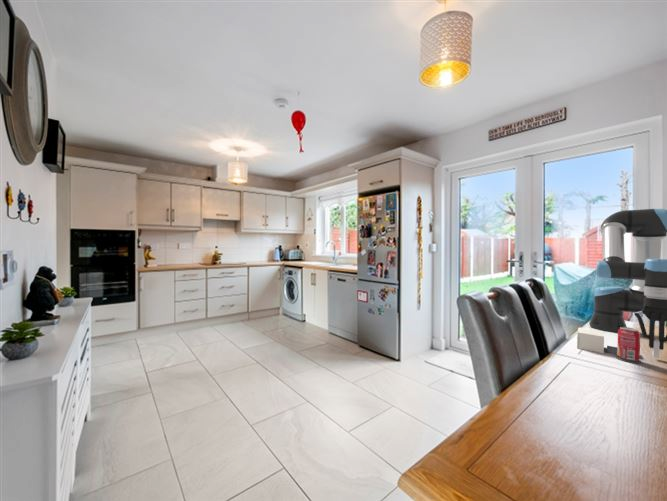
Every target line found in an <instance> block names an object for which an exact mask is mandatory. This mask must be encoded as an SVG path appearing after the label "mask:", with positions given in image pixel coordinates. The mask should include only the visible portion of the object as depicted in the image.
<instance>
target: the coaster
mask: <svg viewBox="0 0 667 501" xmlns="http://www.w3.org/2000/svg"><path fill="white" fill-rule="evenodd" d="M615 358H616V359H617V360H620V361H621V362H626V363H629V364H642V360H636V361H630V360H625V359H622V358H620V357H619V356H618V355H615Z"/></svg>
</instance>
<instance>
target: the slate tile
mask: <svg viewBox="0 0 667 501" xmlns="http://www.w3.org/2000/svg"><path fill="white" fill-rule="evenodd" d="M606 351H607V352H606V353H607V354H613V355H617V346H611V345H606Z"/></svg>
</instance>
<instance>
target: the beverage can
mask: <svg viewBox="0 0 667 501" xmlns="http://www.w3.org/2000/svg"><path fill="white" fill-rule="evenodd" d="M616 347H617V354H616V356H619V357H620V358H622V359H625V360H630V361H636V360H640V359H641V357H640V356H641V355H640V353H641V333H640V332H639V329H638V328H635V327H629V326H628V327H620V329H619V330H618V332H617V346H616ZM640 361H641V360H640Z"/></svg>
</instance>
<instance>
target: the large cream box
mask: <svg viewBox="0 0 667 501" xmlns="http://www.w3.org/2000/svg"><path fill="white" fill-rule="evenodd" d="M604 332H605V331H604V330H599V329H593V328H587V327H586V328H584V327H578V328H577V336H576V337H577V338H576V339H577V342H576V348H577V349H580V350H585V351H589V352H595V353H599V354H600V353H601V354H604V353H605V352H604V351H605V349H604V348H605V333H604Z"/></svg>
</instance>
